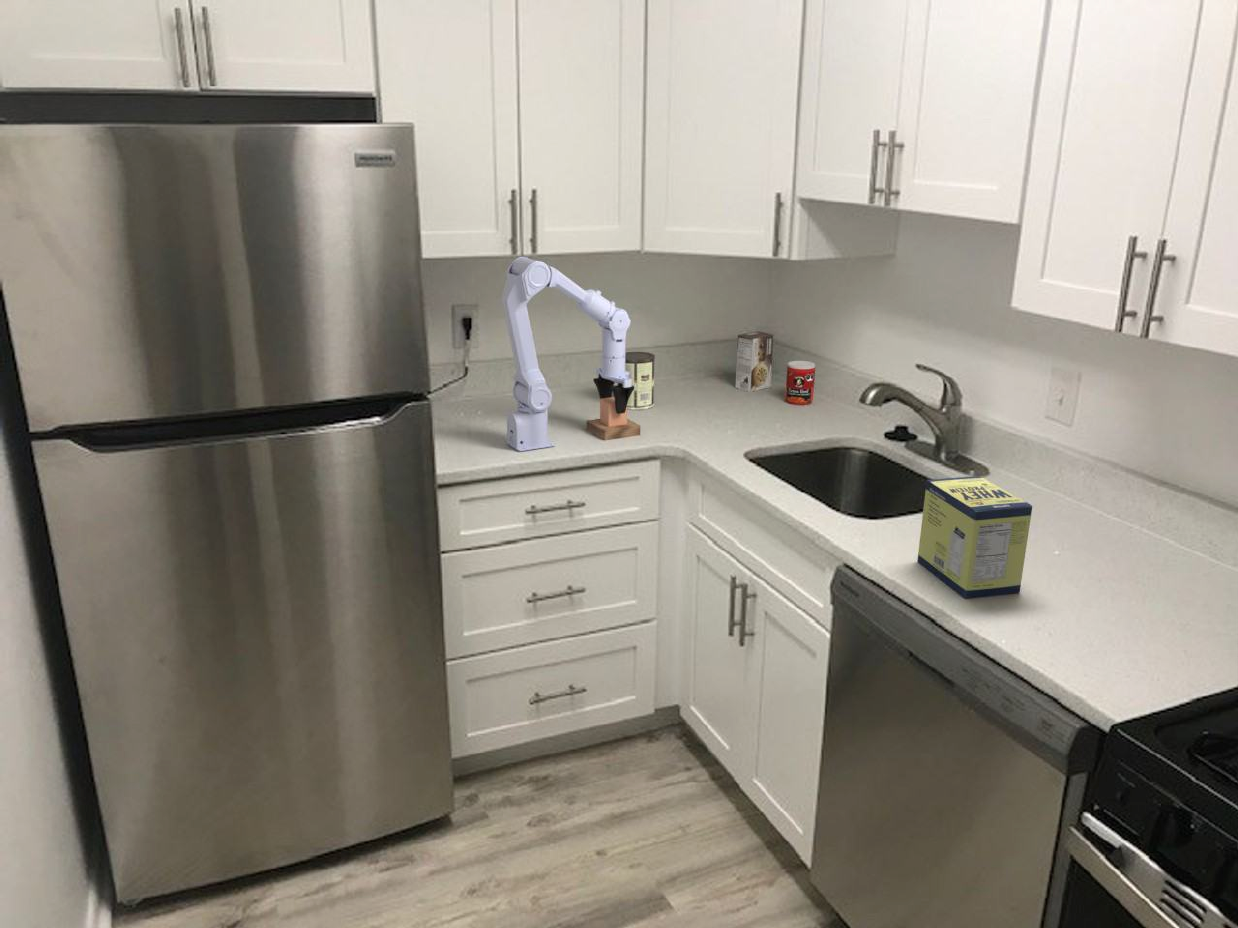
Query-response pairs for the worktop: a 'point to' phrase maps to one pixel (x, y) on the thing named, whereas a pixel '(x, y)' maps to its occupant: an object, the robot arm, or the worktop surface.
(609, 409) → the terracotta block
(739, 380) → the brown white food box
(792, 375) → the canned food
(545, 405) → the robot arm
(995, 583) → the protein box
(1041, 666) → the worktop surface
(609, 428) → the walnut base
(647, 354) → the coffee can
